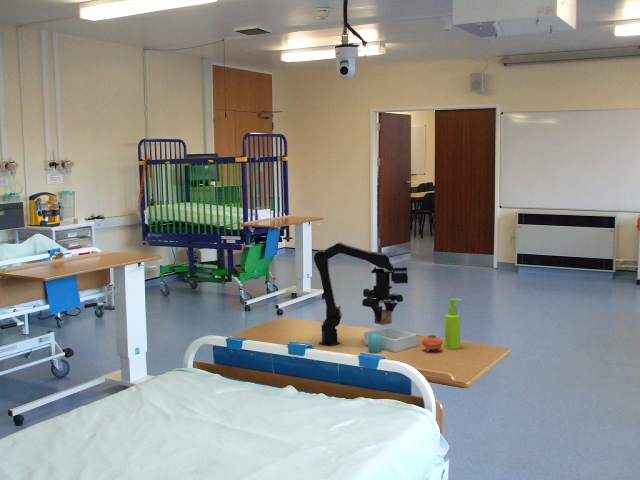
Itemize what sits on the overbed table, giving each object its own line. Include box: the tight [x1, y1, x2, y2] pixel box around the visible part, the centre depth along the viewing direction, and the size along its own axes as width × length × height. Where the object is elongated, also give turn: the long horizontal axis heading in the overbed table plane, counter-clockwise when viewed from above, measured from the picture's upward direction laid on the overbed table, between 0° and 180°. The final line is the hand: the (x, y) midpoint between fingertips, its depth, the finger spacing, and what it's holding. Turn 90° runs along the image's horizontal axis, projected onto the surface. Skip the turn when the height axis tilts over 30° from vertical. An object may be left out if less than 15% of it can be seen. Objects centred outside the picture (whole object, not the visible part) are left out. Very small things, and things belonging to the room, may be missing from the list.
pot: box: [421, 334, 443, 353], centre depth 257 cm, size 8×8×7 cm
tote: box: [363, 327, 418, 353], centre depth 266 cm, size 17×13×5 cm
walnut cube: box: [374, 309, 393, 326], centre depth 268 cm, size 5×5×5 cm
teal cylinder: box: [368, 333, 382, 354], centre depth 257 cm, size 5×5×7 cm
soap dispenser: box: [444, 297, 463, 350], centre depth 260 cm, size 6×7×20 cm
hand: (383, 320), depth 268 cm, fingers closed on walnut cube, 5 cm apart
